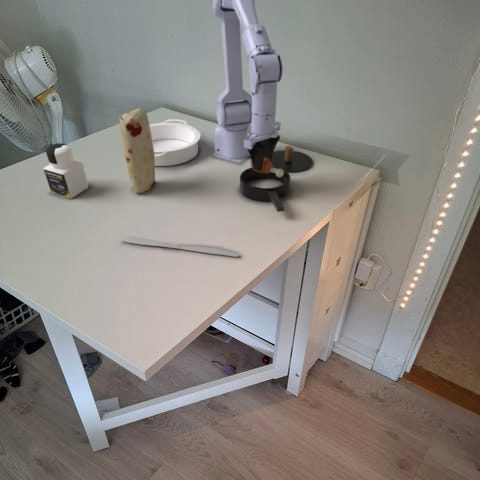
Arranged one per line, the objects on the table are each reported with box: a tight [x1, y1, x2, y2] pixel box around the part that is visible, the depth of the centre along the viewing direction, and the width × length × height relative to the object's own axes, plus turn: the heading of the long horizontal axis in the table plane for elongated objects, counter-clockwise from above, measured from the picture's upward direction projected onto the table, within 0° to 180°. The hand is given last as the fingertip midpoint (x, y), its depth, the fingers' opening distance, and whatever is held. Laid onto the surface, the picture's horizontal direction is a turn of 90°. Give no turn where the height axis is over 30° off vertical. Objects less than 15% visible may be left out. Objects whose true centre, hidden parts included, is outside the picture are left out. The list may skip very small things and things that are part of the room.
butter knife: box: [123, 237, 240, 258], centre depth 99 cm, size 1×27×3 cm
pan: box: [239, 167, 292, 203], centre depth 116 cm, size 13×13×4 cm
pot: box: [149, 118, 201, 167], centre depth 134 cm, size 29×22×5 cm
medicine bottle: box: [43, 142, 89, 200], centre depth 114 cm, size 7×7×12 cm
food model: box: [118, 107, 156, 194], centre depth 112 cm, size 10×7×20 cm
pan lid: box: [271, 145, 313, 174], centre depth 128 cm, size 14×14×5 cm
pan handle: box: [268, 190, 286, 213], centre depth 108 cm, size 9×2×1 cm, turn 12°
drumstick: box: [249, 157, 284, 177], centre depth 113 cm, size 10×4×4 cm, turn 57°
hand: (261, 166), depth 113 cm, fingers closed on drumstick, 4 cm apart
